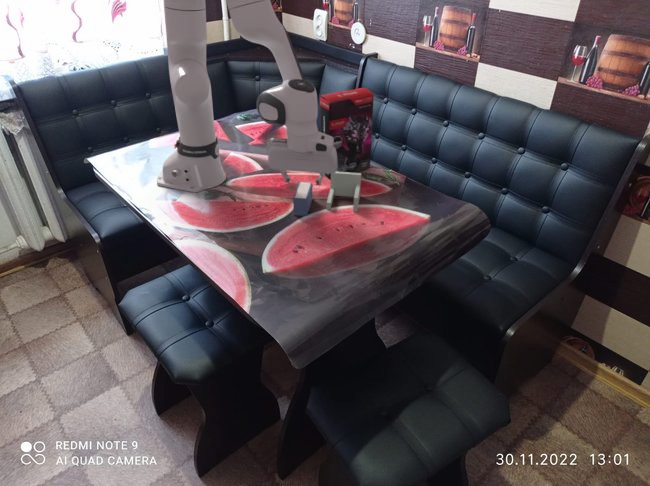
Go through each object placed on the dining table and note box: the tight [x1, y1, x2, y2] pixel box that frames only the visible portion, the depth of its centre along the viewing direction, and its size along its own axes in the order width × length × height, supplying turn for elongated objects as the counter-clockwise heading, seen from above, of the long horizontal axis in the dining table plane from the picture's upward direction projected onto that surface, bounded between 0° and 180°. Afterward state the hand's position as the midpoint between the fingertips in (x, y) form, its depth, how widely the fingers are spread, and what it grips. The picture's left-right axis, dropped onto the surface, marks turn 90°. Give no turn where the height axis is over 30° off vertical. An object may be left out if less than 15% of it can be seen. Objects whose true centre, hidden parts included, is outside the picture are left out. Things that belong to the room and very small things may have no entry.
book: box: [292, 181, 313, 217], centre depth 147 cm, size 4×10×6 cm, turn 172°
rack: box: [326, 171, 362, 213], centre depth 149 cm, size 9×10×8 cm
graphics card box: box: [319, 86, 375, 180], centre depth 161 cm, size 17×7×27 cm, turn 120°
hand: (303, 183), depth 144 cm, fingers open, 8 cm apart
